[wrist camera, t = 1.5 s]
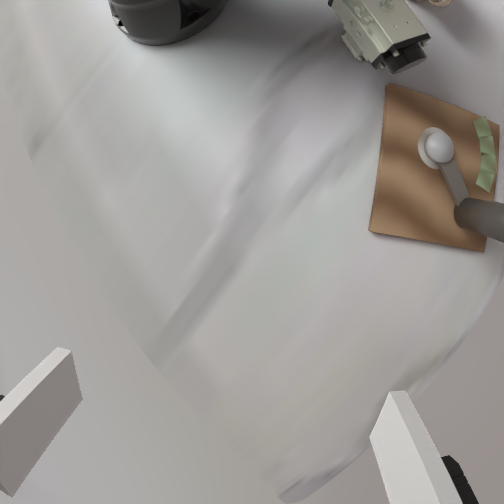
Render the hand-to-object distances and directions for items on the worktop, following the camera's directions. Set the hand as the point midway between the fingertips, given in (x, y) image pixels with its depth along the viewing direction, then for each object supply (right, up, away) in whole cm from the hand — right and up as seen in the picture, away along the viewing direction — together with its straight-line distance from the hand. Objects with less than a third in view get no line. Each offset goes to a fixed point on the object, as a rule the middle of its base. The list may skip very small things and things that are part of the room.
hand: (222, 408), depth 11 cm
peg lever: (+26, +15, +21) cm, 36 cm away
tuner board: (+25, +16, +22) cm, 37 cm away
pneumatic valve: (+14, +31, +19) cm, 39 cm away
